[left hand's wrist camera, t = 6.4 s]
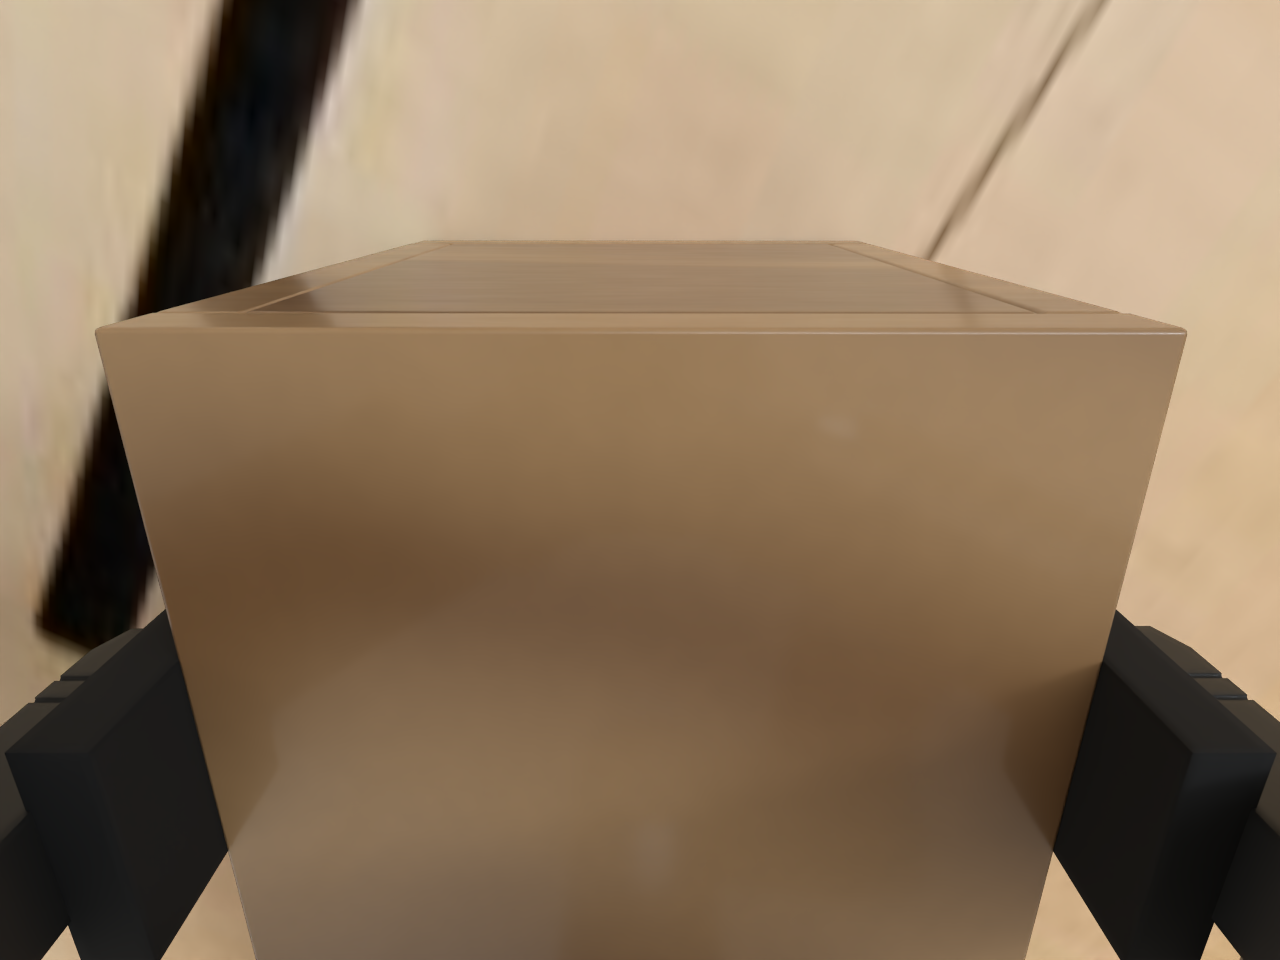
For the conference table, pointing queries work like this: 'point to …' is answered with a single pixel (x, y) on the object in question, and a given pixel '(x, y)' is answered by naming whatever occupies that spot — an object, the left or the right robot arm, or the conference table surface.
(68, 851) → the left robot arm
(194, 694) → the cabinet
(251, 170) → the conference table surface
